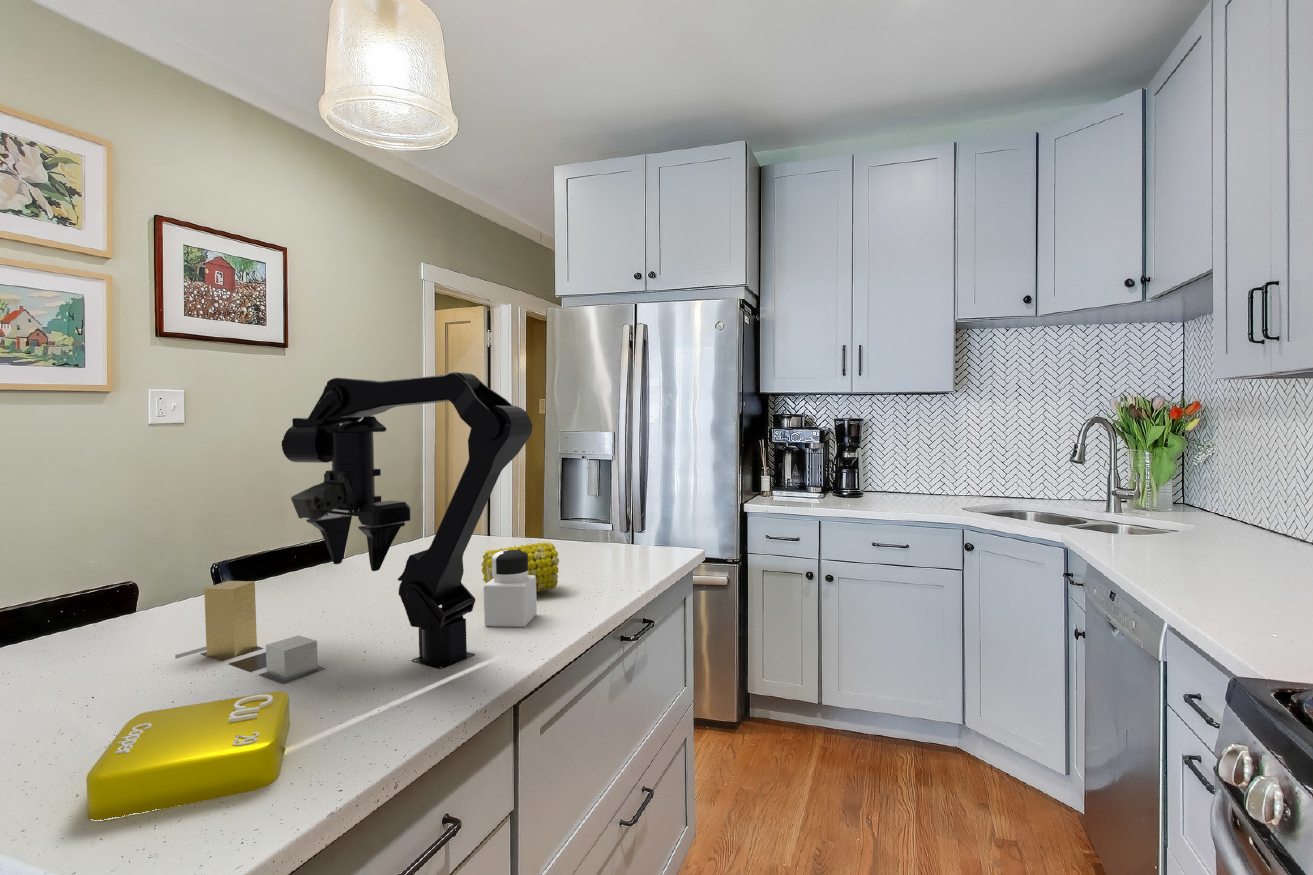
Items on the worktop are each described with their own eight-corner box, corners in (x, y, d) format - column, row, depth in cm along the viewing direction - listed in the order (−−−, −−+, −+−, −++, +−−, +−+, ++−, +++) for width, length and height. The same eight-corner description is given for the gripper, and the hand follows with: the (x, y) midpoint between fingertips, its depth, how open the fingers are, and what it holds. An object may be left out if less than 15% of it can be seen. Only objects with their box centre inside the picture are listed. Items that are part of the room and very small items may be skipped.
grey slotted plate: (343, 669, 93) (343, 664, 93) (271, 695, 84) (271, 690, 84) (246, 638, 106) (246, 634, 106) (175, 658, 98) (175, 654, 98)
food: (478, 606, 123) (476, 552, 123) (483, 589, 135) (482, 540, 134) (560, 601, 126) (559, 548, 125) (558, 585, 137) (557, 537, 137)
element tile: (133, 752, 71) (132, 708, 71) (291, 724, 77) (290, 683, 77) (79, 831, 58) (77, 777, 57) (277, 789, 64) (275, 741, 63)
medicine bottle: (537, 614, 117) (535, 547, 117) (525, 627, 110) (523, 556, 110) (498, 613, 118) (496, 547, 118) (483, 626, 111) (482, 555, 110)
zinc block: (317, 669, 91) (316, 640, 91) (285, 680, 87) (284, 650, 87) (299, 663, 94) (298, 635, 94) (266, 673, 90) (265, 644, 90)
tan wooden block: (256, 646, 101) (254, 581, 101) (234, 656, 96) (232, 589, 96) (229, 645, 101) (227, 580, 101) (206, 655, 97) (204, 588, 97)
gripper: (263, 465, 96) (266, 571, 97) (340, 469, 86) (343, 587, 87) (335, 460, 106) (337, 556, 106) (411, 463, 96) (414, 570, 96)
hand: (356, 567), depth 99 cm, fingers open, 9 cm apart
